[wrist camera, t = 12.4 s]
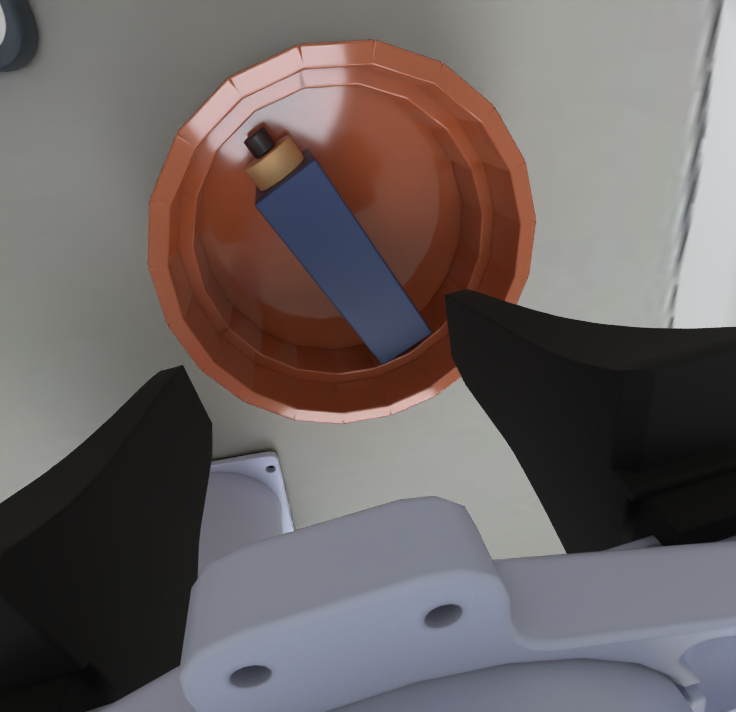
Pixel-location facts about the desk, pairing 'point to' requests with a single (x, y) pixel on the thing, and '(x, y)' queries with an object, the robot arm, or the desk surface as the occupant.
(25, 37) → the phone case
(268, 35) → the desk surface
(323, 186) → the pencil
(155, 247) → the bowl
